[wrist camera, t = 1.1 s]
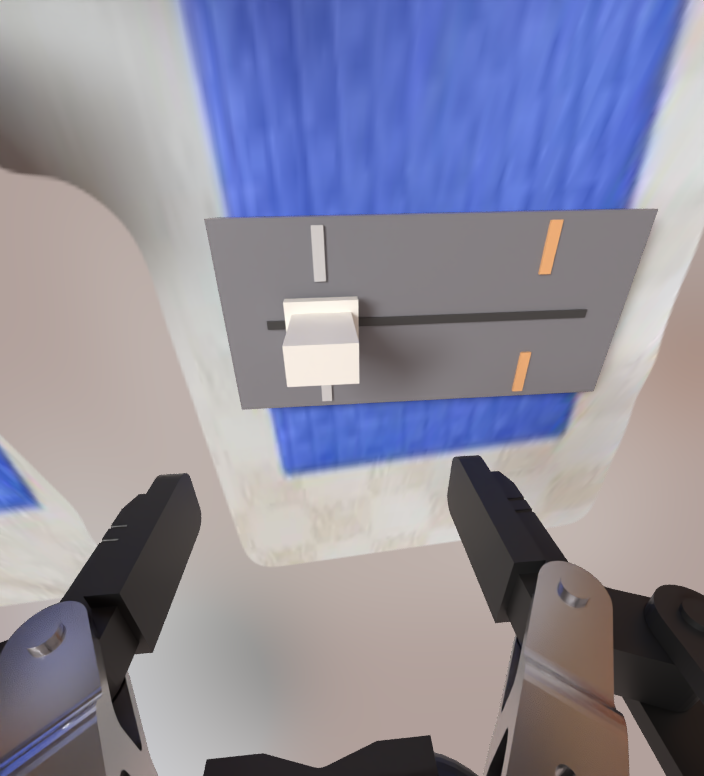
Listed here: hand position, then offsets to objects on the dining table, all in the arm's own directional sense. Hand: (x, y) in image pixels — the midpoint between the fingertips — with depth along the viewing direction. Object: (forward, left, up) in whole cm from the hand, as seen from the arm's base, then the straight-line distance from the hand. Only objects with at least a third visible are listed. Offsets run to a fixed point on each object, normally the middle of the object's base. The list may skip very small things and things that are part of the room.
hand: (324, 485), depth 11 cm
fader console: (0, +8, -20) cm, 21 cm away
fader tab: (0, 0, -16) cm, 16 cm away
